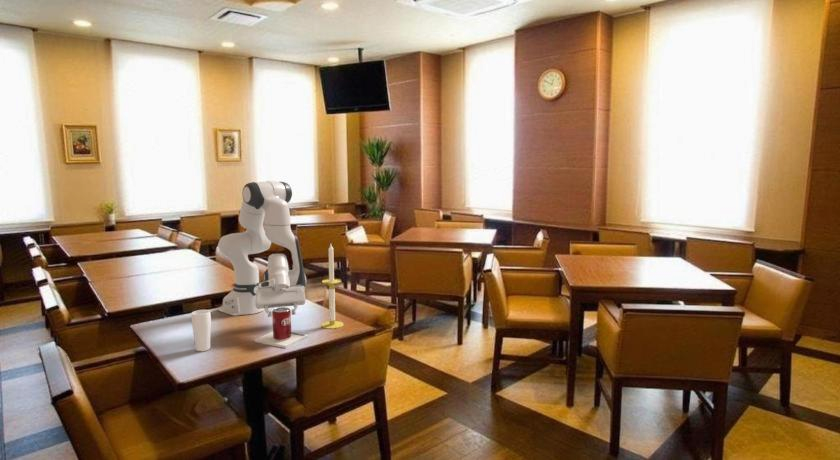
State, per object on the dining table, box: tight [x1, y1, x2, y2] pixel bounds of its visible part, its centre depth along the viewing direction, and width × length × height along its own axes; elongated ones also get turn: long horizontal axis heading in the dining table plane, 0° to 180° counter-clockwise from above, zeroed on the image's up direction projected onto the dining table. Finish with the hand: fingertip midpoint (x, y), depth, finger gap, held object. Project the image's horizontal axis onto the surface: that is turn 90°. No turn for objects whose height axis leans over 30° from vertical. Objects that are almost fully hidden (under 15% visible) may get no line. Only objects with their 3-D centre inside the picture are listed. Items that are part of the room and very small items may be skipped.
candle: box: [320, 243, 345, 330], centre depth 216 cm, size 10×10×38 cm
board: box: [254, 331, 309, 349], centre depth 200 cm, size 16×14×1 cm
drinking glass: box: [191, 309, 212, 352], centre depth 188 cm, size 7×7×15 cm
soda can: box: [271, 306, 292, 341], centre depth 198 cm, size 7×7×12 cm
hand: (281, 315), depth 199 cm, fingers open, 8 cm apart
